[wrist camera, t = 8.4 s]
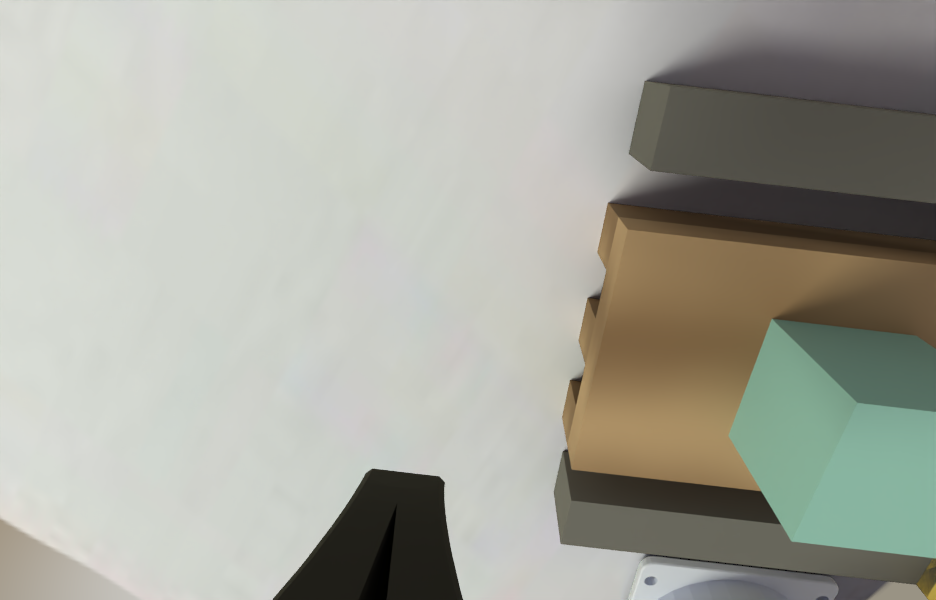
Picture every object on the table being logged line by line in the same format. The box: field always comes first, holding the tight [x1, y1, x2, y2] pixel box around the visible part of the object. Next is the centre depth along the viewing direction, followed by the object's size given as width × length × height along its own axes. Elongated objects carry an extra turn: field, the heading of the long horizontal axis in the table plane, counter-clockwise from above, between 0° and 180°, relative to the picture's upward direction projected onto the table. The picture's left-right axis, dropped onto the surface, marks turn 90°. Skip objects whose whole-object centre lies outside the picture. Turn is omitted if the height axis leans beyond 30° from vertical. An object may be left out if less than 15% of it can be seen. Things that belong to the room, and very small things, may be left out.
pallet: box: [562, 203, 936, 491], centre depth 17 cm, size 8×12×3 cm, turn 84°
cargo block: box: [728, 319, 936, 558], centre depth 14 cm, size 4×4×4 cm
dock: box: [554, 81, 936, 600], centre depth 17 cm, size 15×14×4 cm
